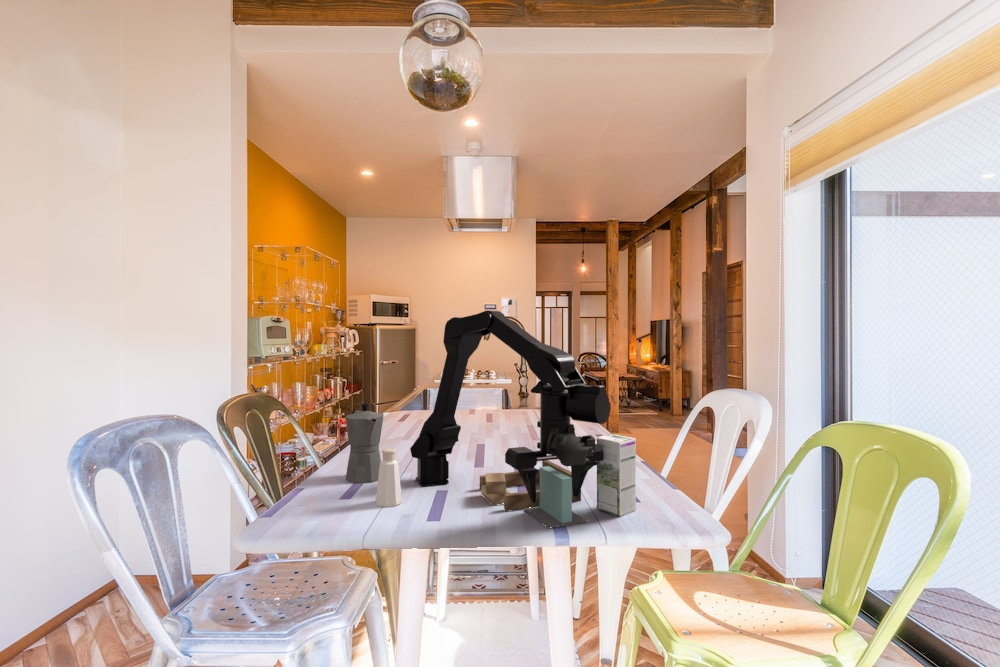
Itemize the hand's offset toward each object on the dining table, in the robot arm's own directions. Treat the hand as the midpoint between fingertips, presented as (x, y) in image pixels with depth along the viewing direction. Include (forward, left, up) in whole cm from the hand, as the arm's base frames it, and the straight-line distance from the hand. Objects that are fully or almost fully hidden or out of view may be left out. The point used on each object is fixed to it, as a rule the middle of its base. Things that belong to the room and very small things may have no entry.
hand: (554, 499), depth 95 cm
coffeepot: (-30, +41, -3) cm, 51 cm away
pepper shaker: (-28, +19, -3) cm, 34 cm away
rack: (+1, +13, -3) cm, 14 cm away
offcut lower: (-7, +13, -4) cm, 15 cm away
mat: (0, 0, -3) cm, 3 cm away
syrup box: (+13, -2, -3) cm, 14 cm away
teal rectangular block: (0, 0, -3) cm, 3 cm away
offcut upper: (-7, +14, -1) cm, 15 cm away
